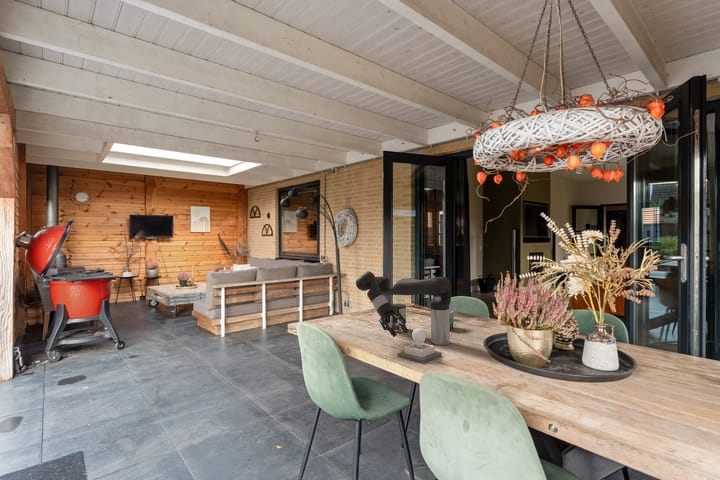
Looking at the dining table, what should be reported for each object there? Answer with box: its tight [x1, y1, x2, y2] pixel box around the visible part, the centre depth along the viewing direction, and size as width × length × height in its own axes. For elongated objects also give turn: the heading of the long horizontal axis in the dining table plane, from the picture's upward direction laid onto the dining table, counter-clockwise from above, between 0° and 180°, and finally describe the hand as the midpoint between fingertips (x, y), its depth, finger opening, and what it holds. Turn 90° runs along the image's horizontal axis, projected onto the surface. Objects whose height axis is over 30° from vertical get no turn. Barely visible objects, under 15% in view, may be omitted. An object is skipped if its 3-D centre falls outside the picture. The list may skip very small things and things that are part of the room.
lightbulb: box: [411, 327, 427, 350], centre depth 167 cm, size 6×6×11 cm
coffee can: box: [390, 303, 407, 333], centre depth 215 cm, size 10×10×14 cm
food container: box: [449, 309, 456, 331], centre depth 214 cm, size 12×6×10 cm, turn 131°
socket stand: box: [397, 342, 443, 364], centre depth 167 cm, size 14×14×4 cm
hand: (401, 334), depth 173 cm, fingers open, 8 cm apart
